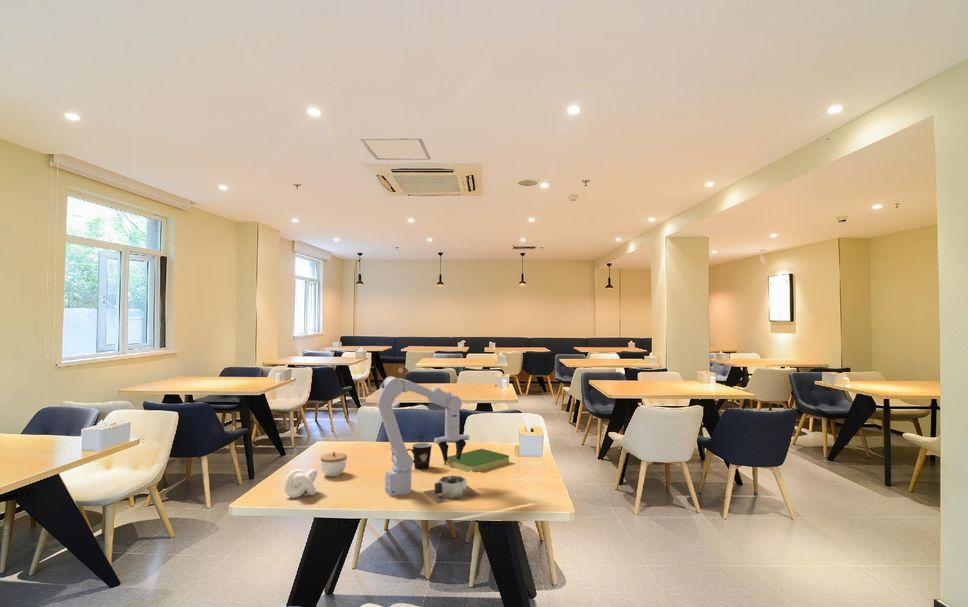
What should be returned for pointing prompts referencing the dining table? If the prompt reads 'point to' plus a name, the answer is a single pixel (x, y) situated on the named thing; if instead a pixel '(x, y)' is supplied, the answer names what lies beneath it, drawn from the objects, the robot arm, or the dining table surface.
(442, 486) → the silver octagonal piece
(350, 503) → the dining table surface
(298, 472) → the white knot ornament
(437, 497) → the serving board
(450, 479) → the grey knobbed lid
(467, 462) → the hardcover book
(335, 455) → the lidded jar
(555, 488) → the dining table surface
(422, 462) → the coffee mug
